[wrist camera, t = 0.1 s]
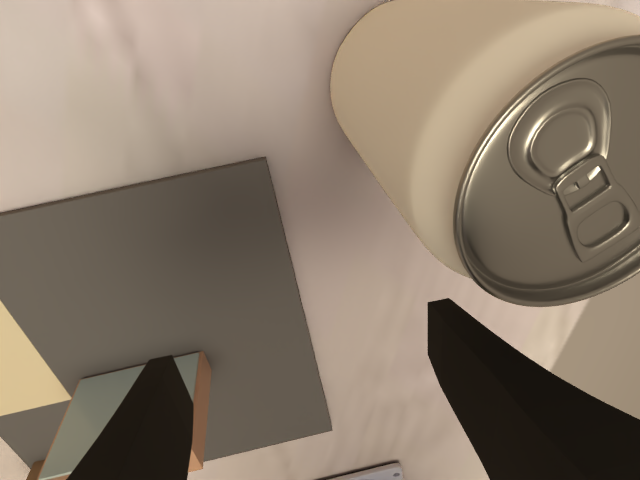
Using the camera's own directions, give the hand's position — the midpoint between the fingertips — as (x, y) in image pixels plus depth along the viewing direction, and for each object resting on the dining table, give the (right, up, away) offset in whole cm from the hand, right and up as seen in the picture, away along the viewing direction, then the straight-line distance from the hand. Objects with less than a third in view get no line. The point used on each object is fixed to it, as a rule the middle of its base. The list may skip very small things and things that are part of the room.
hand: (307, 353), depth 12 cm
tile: (-10, -4, +12) cm, 16 cm away
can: (+4, +10, +7) cm, 13 cm away
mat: (-10, -3, +12) cm, 16 cm away
